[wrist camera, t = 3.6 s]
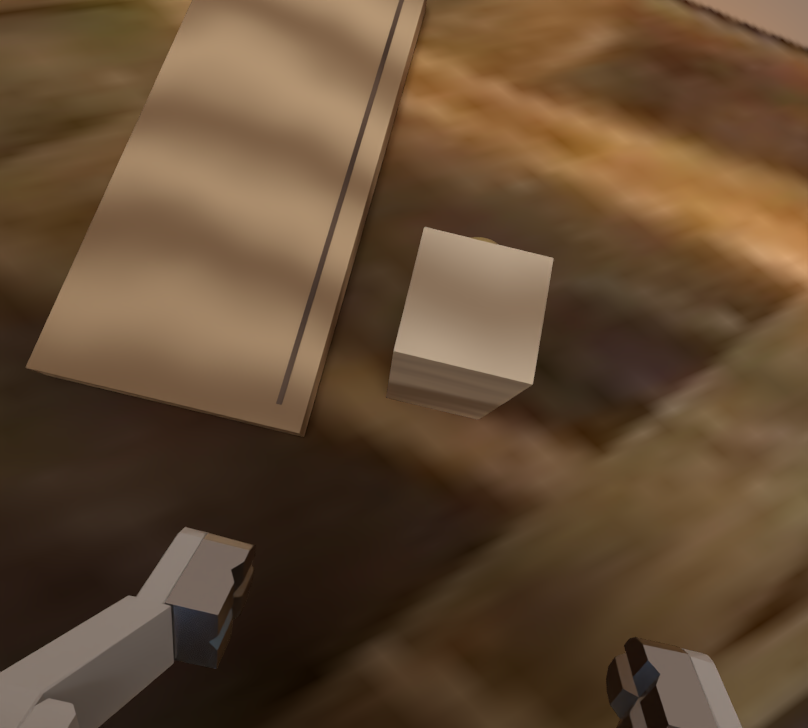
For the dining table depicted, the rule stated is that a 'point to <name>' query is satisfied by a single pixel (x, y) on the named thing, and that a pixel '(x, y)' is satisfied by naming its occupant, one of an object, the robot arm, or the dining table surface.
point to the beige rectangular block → (469, 325)
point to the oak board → (237, 210)
